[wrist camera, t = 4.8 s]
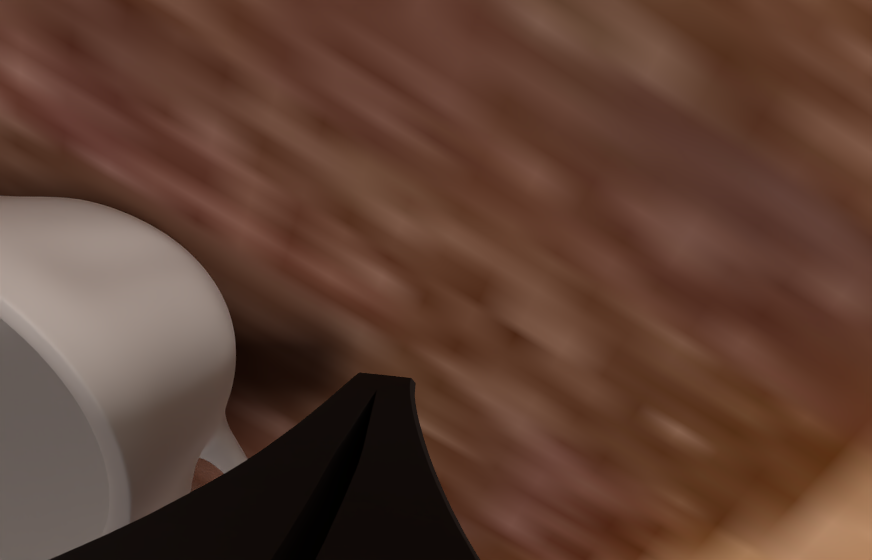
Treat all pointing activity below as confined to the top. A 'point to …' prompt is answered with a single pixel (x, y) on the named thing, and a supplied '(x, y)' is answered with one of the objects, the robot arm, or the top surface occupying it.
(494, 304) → the top surface
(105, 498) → the teacup
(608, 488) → the top surface
